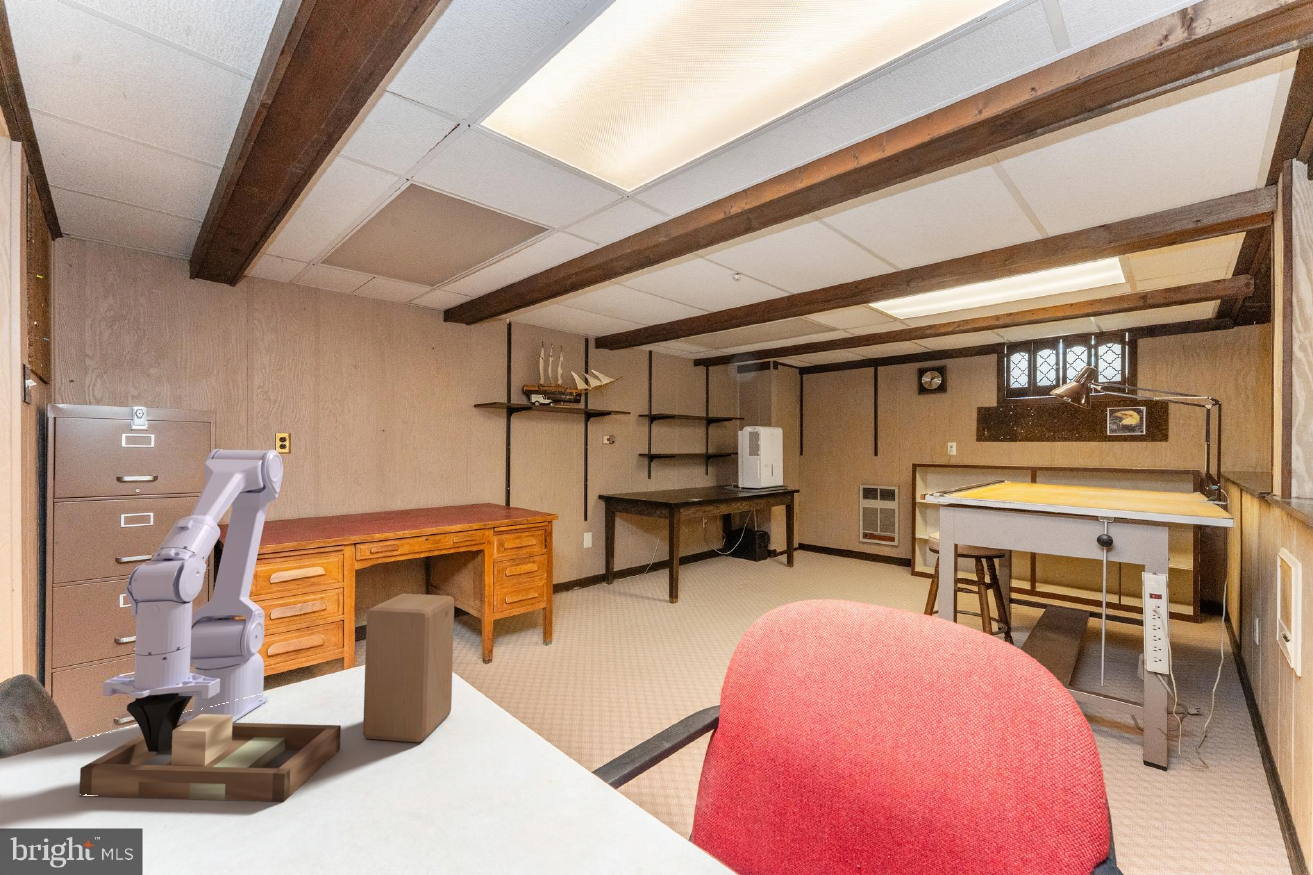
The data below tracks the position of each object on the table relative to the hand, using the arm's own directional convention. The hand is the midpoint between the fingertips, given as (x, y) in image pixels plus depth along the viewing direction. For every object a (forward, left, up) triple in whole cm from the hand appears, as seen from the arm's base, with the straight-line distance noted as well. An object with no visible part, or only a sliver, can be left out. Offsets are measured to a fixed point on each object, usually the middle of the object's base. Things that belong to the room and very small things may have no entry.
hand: (159, 747), depth 75 cm
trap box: (0, +8, -3) cm, 9 cm away
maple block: (0, +6, -1) cm, 6 cm away
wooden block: (-13, +28, -3) cm, 31 cm away
